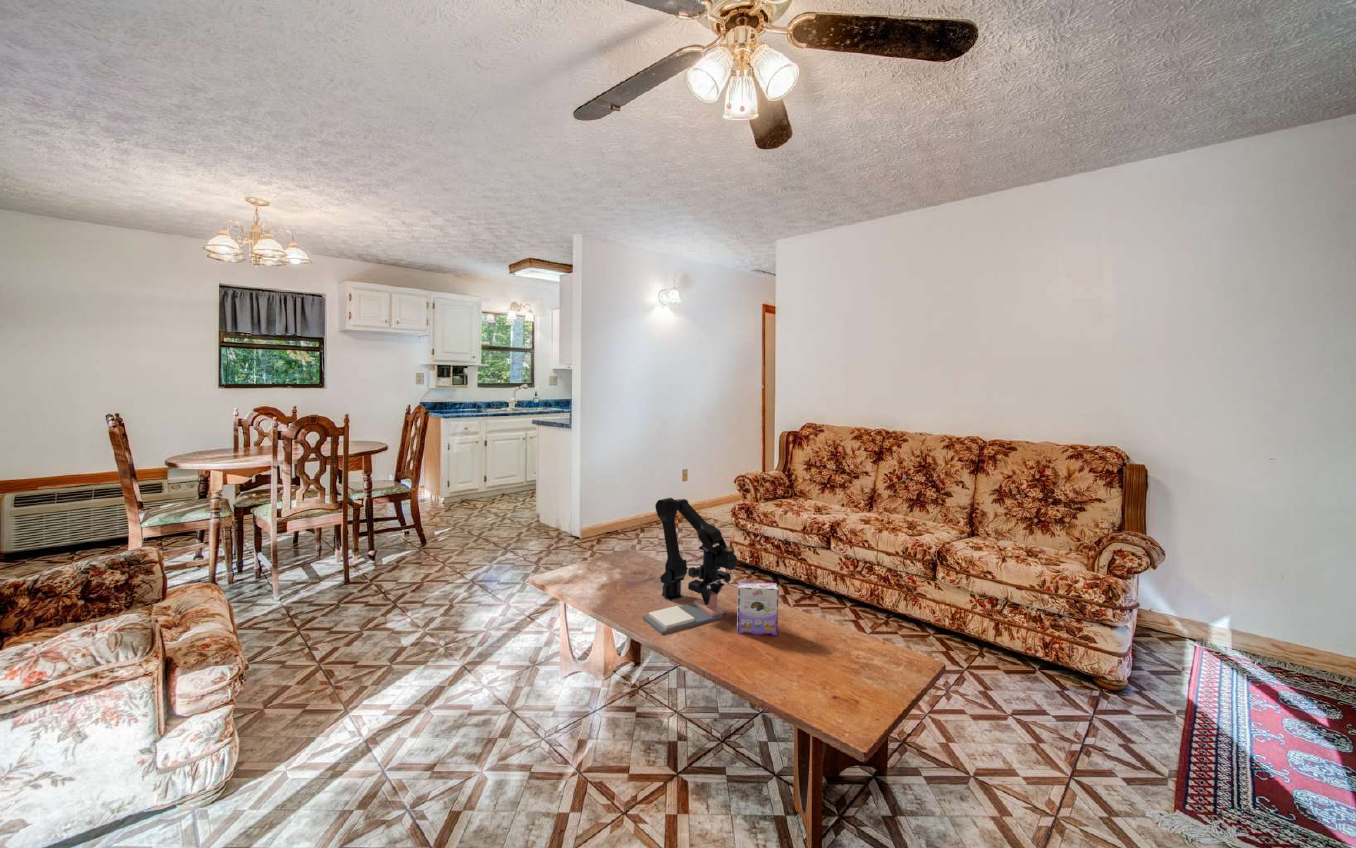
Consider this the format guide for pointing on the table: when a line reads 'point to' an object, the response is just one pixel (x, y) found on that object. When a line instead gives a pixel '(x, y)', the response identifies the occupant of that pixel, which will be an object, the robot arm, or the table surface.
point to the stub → (710, 605)
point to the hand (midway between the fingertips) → (709, 603)
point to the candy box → (757, 608)
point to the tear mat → (699, 619)
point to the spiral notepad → (671, 617)
